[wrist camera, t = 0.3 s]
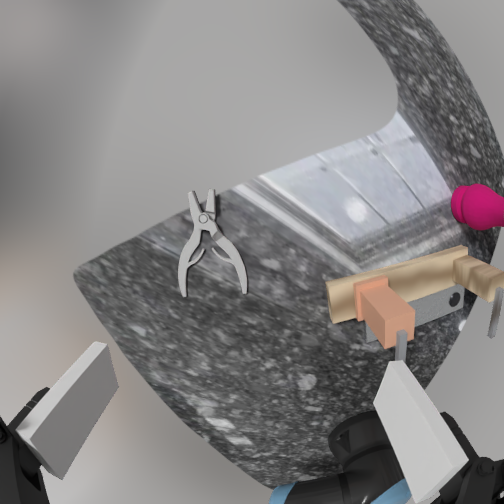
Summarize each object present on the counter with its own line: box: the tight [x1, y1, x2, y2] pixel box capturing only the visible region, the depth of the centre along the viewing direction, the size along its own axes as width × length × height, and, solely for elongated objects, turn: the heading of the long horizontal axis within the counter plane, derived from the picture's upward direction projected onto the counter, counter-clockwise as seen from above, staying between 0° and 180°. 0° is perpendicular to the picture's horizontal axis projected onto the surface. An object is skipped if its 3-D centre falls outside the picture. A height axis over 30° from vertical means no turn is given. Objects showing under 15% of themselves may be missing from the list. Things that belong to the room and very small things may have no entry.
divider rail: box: [326, 245, 504, 338], centre depth 32 cm, size 11×26×13 cm, turn 103°
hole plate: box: [364, 284, 465, 343], centre depth 38 cm, size 6×21×1 cm, turn 103°
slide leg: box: [353, 275, 415, 363], centre depth 31 cm, size 11×5×11 cm, turn 13°
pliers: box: [178, 189, 247, 297], centre depth 37 cm, size 10×2×15 cm
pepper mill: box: [451, 184, 504, 230], centre depth 25 cm, size 7×7×20 cm
